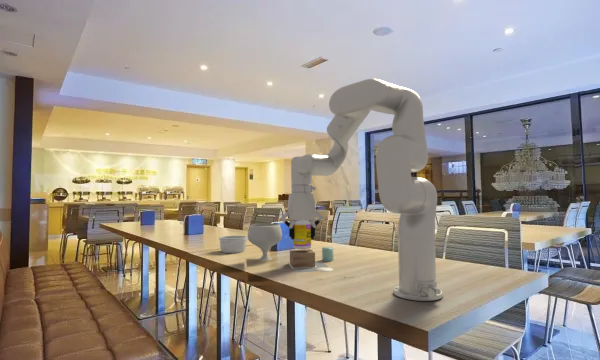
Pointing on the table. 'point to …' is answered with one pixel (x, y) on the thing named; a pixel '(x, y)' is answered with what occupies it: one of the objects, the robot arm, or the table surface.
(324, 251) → the teal post
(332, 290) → the table surface
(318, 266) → the build board
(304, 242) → the supplement bottle
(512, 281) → the table surface
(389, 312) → the table surface
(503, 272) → the table surface
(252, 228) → the chalice
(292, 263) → the walnut plinth
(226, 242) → the ramekin
